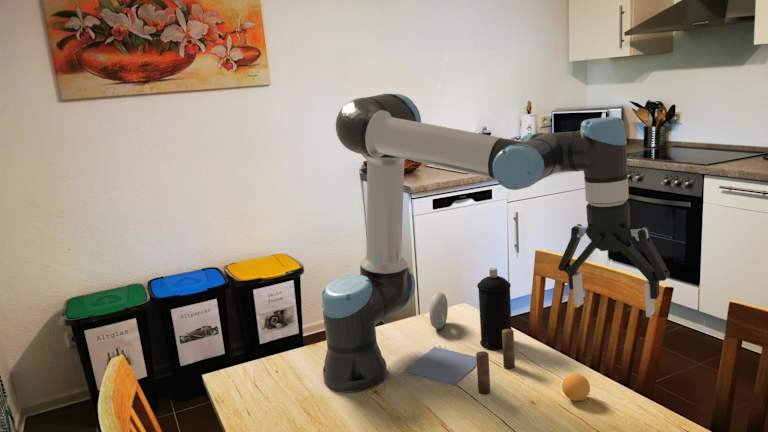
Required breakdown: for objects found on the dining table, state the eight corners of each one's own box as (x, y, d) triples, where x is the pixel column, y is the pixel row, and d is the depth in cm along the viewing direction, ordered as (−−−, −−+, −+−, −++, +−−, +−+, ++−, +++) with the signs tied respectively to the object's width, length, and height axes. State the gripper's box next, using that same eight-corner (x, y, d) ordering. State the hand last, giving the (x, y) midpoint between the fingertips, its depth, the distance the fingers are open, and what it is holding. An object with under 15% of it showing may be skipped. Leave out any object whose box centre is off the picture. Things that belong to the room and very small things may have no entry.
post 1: (476, 393, 132) (474, 355, 130) (481, 387, 134) (479, 350, 132) (486, 396, 130) (485, 357, 128) (492, 390, 132) (490, 352, 130)
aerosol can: (499, 353, 148) (496, 276, 144) (473, 344, 154) (469, 270, 150) (519, 342, 154) (516, 267, 149) (493, 333, 160) (490, 261, 155)
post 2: (501, 367, 142) (500, 332, 139) (506, 363, 144) (505, 328, 141) (512, 370, 140) (510, 334, 138) (516, 365, 142) (515, 330, 140)
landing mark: (403, 371, 144) (403, 370, 144) (434, 347, 155) (434, 346, 155) (454, 385, 136) (454, 384, 136) (483, 359, 147) (483, 358, 146)
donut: (441, 335, 161) (439, 300, 159) (429, 334, 162) (426, 300, 160) (450, 320, 170) (447, 286, 168) (438, 319, 171) (435, 286, 169)
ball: (558, 401, 126) (557, 377, 125) (567, 389, 130) (567, 366, 129) (584, 408, 123) (584, 384, 121) (593, 396, 127) (593, 372, 126)
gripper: (685, 198, 107) (689, 311, 111) (552, 196, 123) (560, 295, 128) (673, 208, 102) (677, 326, 106) (536, 205, 118) (544, 307, 122)
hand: (613, 309), depth 117 cm, fingers open, 13 cm apart
